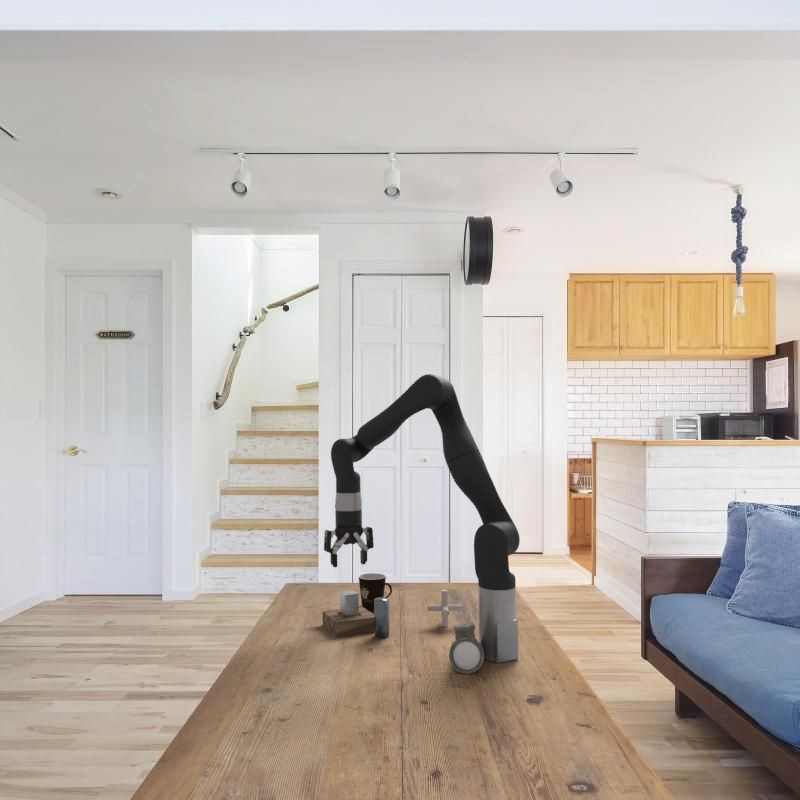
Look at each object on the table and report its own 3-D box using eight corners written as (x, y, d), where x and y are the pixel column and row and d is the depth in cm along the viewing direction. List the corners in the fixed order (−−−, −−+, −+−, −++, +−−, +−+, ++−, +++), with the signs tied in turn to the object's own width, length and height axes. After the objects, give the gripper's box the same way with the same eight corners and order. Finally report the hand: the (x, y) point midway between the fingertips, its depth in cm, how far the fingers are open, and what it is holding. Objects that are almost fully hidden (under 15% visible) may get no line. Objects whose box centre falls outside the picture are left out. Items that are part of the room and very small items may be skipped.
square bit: (358, 629, 184) (358, 593, 184) (345, 631, 182) (345, 595, 182) (353, 625, 187) (353, 590, 188) (340, 627, 185) (340, 591, 186)
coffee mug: (354, 606, 206) (354, 574, 207) (379, 603, 210) (379, 572, 210) (368, 616, 196) (368, 582, 196) (394, 612, 200) (394, 579, 200)
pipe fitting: (485, 674, 149) (481, 627, 151) (450, 675, 150) (446, 629, 152) (485, 661, 161) (481, 618, 162) (453, 662, 162) (449, 620, 163)
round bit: (391, 637, 176) (391, 600, 177) (377, 639, 175) (377, 601, 175) (385, 633, 180) (385, 596, 180) (372, 635, 178) (372, 598, 179)
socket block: (377, 631, 182) (377, 616, 182) (336, 637, 177) (336, 622, 177) (361, 619, 193) (361, 606, 193) (322, 625, 187) (322, 611, 188)
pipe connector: (464, 631, 181) (463, 594, 182) (428, 631, 181) (427, 595, 182) (461, 620, 191) (460, 586, 192) (427, 620, 191) (426, 586, 192)
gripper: (329, 511, 180) (329, 570, 179) (376, 507, 186) (377, 565, 185) (320, 508, 186) (321, 565, 186) (366, 505, 192) (367, 560, 192)
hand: (349, 565), depth 185 cm, fingers open, 8 cm apart
